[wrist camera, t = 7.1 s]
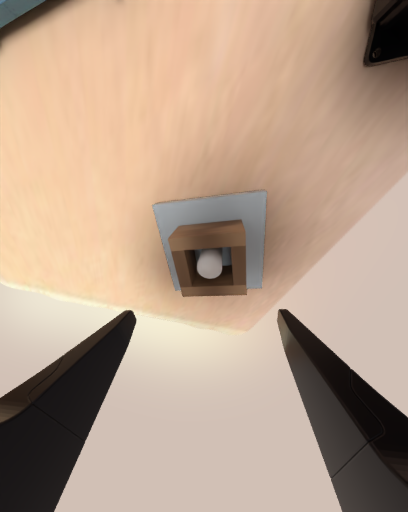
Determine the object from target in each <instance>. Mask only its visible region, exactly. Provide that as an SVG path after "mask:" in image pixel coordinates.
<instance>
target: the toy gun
mask: <svg viewBox="0 0 408 512" xmlns="http://www.w3.org/2000/svg"><path fill="white" fill-rule="evenodd" d="M44 1H46V0H0V28H1V27H3V26H4V25H6V24H8V23H9V22H11V21H13V20H14V19H16V18H18V17H19V16H21V15H23V14H24V13H26V12H28V11H29V10H31V9H32V8H34V7H36V6H37V5H39V4H41V3H42V2H44Z"/></svg>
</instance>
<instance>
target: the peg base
mask: <svg viewBox="0 0 408 512" xmlns="http://www.w3.org/2000/svg"><path fill="white" fill-rule="evenodd" d="M266 198H267V191H265V190H257V191H249V192H241V193H233V194H225V195H217V196H208V197H200V198H192V199H184V200H176V201H168V202H160V203H156V204H154V205H152V207H153V210H154V214H155V218H156V221H157V225H158V229H159V232H160V236H161V240H162V243H163V247H164V251H165V254H166V258H167V262H168V266H169V269H170V273H171V277H172V280H173V284H174V288H175V291H177V290H181V288H180V284H179V281H178V277H177V273H176V269H175V265H174V261H173V257H172V254H171V250H170V246H169V242H168V238H169V237H170V235H171V234H172V233H173V232H174V231H175V230H176V228H177V227H178V226H181V225H191V224H200V223H210V222H220V221H229V220H239V219H241V220H242V223H243V226H244V229H245V231H246V285H247V289H251V288H262V277H263V258H264V238H265V218H266ZM194 251H195V256H196V262H197V271H198V273H199V274H200V275H201V276H203V277H204V278H208V279H212V278H216V277H218V276H219V275H220V274H221V272H222V266H229V265H232V260H231V247H221V248H208V249H195V250H194Z"/></svg>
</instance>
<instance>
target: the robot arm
mask: <svg viewBox="0 0 408 512" xmlns="http://www.w3.org/2000/svg"><path fill="white" fill-rule="evenodd" d="M372 22H373V24H372V28H371V33H370V37H369V41H368V46H367V50H366V54H365V59H364V63H365V65H366V66H373V65H378V64H382V63H387V62H392V61H396V60H401V59H405V58H408V0H376V2H375V7H374V11H373V15H372ZM374 51H376V53H377V56H376V58H373V52H374ZM277 322H278V327H279V330H280V334H281V338H282V343H283V346H284V350H285V354H286V356H287V359H288V362H289V365H290V368H291V371H292V373H293V376H294V379H295V382H296V384H297V387H298V390H299V393H300V395H301V398H302V401H303V404H304V407H305V409H306V412H307V414H308V417H309V420H310V423H311V426H312V428H313V431H314V434H315V437H316V439H317V442H318V445H319V448H320V451H321V453H322V456H323V459H324V462H325V464H326V467H327V470H328V472H329V476H330V478H331V481H332V484H333V486H334V489H335V492H336V495H337V498H338V500H339V503H340V506H341V509H342V512H408V417H407V416H406V415H404V414H403V413H402V412H401V411H399V410H398V409H397V408H396V407H395V406H393V405H392V404H391V403H390V402H389V401H388V400H386V399H385V398H384V397H383V396H382V395H380V394H379V393H378V392H377V391H376V390H375V389H373V388H372V387H371V386H370V385H369V384H368V383H367V382H366V381H364V380H363V379H362V378H361V377H360V376H359V375H358V374H357V373H356V372H354V371H353V370H352V369H350V367H349V366H348V365H347V364H346V363H345V362H344V361H343V360H341V359H340V358H339V357H338V356H337V355H336V354H335V353H334V352H333V351H332V350H331V349H329V348H328V347H327V346H326V345H325V344H324V343H323V342H322V341H321V340H320V339H319V338H317V337H316V336H315V335H314V334H313V333H312V332H311V331H310V330H309V329H308V328H306V326H304V325H303V324H302V323H301V322H300V321H299V320H298V319H297V318H296V317H295V316H294V315H293V314H291V313H290V312H289V311H288V310H286V309H279V311H278V318H277ZM135 324H136V318H135V315H134V313H133V311H132V310H126V311H124V312H123V313H121V314H120V315H118V316H117V317H116V318H114V319H113V320H111V321H110V322H109V323H107V324H106V325H105V326H103V327H102V328H100V329H99V330H98V331H96V332H95V333H94V334H92V335H91V336H90V337H88V338H87V339H85V340H84V341H82V342H81V343H80V344H78V345H77V346H76V347H74V348H73V349H71V350H70V351H68V352H67V353H66V354H65V355H63V356H62V357H60V358H59V359H57V360H56V361H55V362H53V363H52V364H51V365H49V366H47V367H46V368H45V369H43V370H42V371H40V372H39V373H37V374H36V375H35V376H33V377H31V378H30V379H28V380H27V381H25V382H24V383H23V384H21V385H19V386H18V387H16V388H15V389H13V390H12V391H10V392H8V393H7V394H5V395H4V396H3V397H1V398H0V512H54V510H55V508H56V506H57V504H58V502H59V499H60V497H61V495H62V493H63V490H64V488H65V486H66V484H67V481H68V479H69V477H70V475H71V472H72V470H73V468H74V466H75V464H76V461H77V459H78V457H79V455H80V452H81V450H82V448H83V446H84V444H85V440H86V439H87V437H88V434H89V432H90V430H91V427H92V425H93V423H94V421H95V419H96V417H97V414H98V412H99V410H100V407H101V405H102V403H103V401H104V399H105V396H106V394H107V392H108V390H109V388H110V385H111V383H112V381H113V379H114V376H115V374H116V372H117V370H118V367H119V365H120V363H121V361H122V359H123V356H124V354H125V352H126V349H127V347H128V345H129V342H130V339H131V336H132V333H133V330H134V327H135Z"/></svg>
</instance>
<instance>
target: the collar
mask: <svg viewBox="0 0 408 512" xmlns="http://www.w3.org/2000/svg"><path fill="white" fill-rule="evenodd" d="M168 242H169V246H170V250H171V254H172V257H173V261H174V265H175V269H176V273H177V277H178V281H179V284H180V288H181V292H182V296H183V297H187V296H225V295H247V285H246V231H245V229H244V226H243V223H242V220H241V219H239V220H229V221H220V222H210V223H200V224H191V225H181V226H178V227H177V228H176V230H175V231H174V232H173V233H172V234H171V235H170V237H169V238H168ZM221 247H231V260H232V265H229V266H222V272H221V274H220V275H219V276H218V277H216V278H212V279H208V278H204V277H203V276H201V275H200V274H199V273H198V271H197V262H196V256H195V251H194V250H195V249H208V248H221Z"/></svg>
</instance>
